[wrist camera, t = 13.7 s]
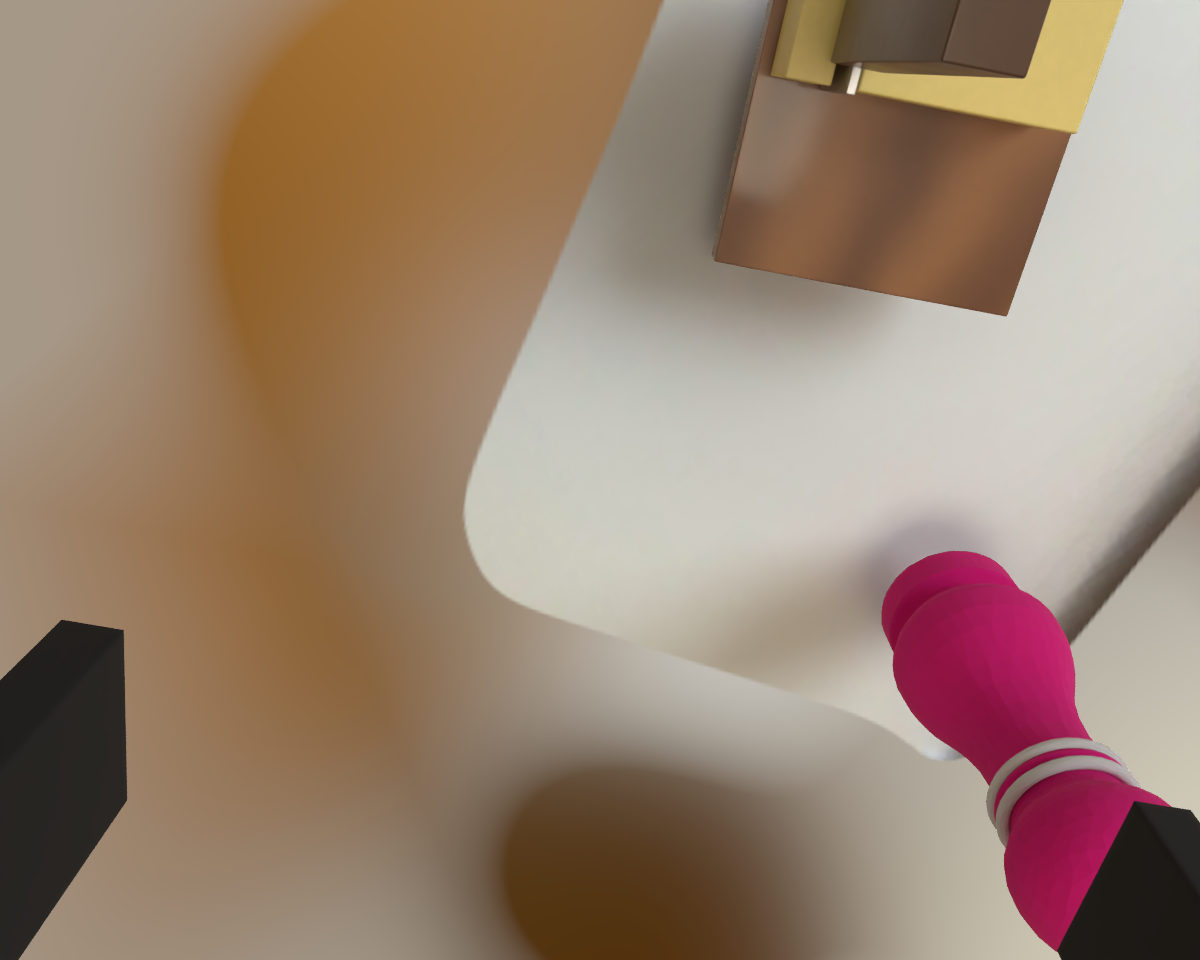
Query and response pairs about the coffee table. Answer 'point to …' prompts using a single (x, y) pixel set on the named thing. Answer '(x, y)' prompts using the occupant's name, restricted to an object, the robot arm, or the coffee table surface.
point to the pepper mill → (1011, 725)
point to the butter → (1037, 100)
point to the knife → (936, 38)
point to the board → (882, 191)
